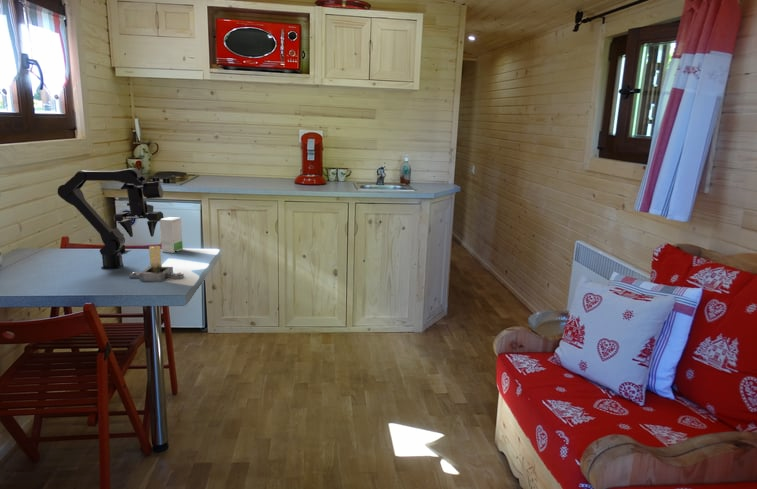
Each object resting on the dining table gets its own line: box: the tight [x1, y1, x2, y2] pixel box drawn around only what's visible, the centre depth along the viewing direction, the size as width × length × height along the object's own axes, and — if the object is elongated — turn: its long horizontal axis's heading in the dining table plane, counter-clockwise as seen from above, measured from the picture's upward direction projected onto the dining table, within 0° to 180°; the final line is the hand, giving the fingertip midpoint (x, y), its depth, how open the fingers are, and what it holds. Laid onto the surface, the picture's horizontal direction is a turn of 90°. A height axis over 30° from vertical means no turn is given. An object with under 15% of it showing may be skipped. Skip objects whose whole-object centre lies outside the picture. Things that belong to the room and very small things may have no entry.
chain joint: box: [129, 265, 185, 282], centre depth 202 cm, size 20×9×3 cm, turn 93°
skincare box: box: [159, 216, 184, 254], centre depth 240 cm, size 8×7×16 cm
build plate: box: [119, 244, 132, 255], centre depth 235 cm, size 12×7×5 cm, turn 165°
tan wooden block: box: [148, 245, 163, 273], centre depth 201 cm, size 4×4×12 cm
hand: (142, 236), depth 213 cm, fingers open, 9 cm apart
